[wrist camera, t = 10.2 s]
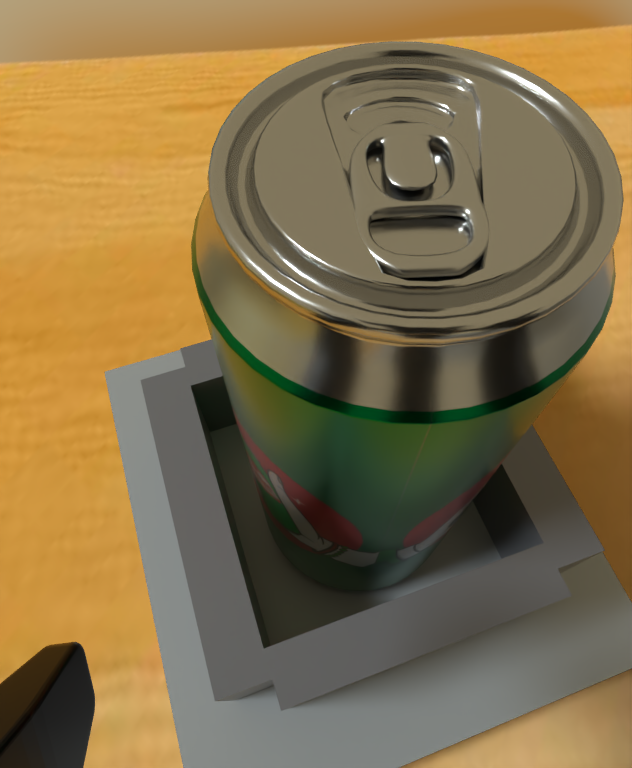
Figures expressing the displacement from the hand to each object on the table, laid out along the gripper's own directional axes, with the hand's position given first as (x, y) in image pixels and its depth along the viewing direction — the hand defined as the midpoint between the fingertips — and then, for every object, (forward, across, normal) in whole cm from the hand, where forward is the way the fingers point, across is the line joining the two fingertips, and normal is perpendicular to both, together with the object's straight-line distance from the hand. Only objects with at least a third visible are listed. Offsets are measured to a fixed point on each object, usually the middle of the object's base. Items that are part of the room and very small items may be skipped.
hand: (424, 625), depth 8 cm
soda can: (+9, 0, +3) cm, 9 cm away
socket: (+9, 0, +3) cm, 10 cm away
